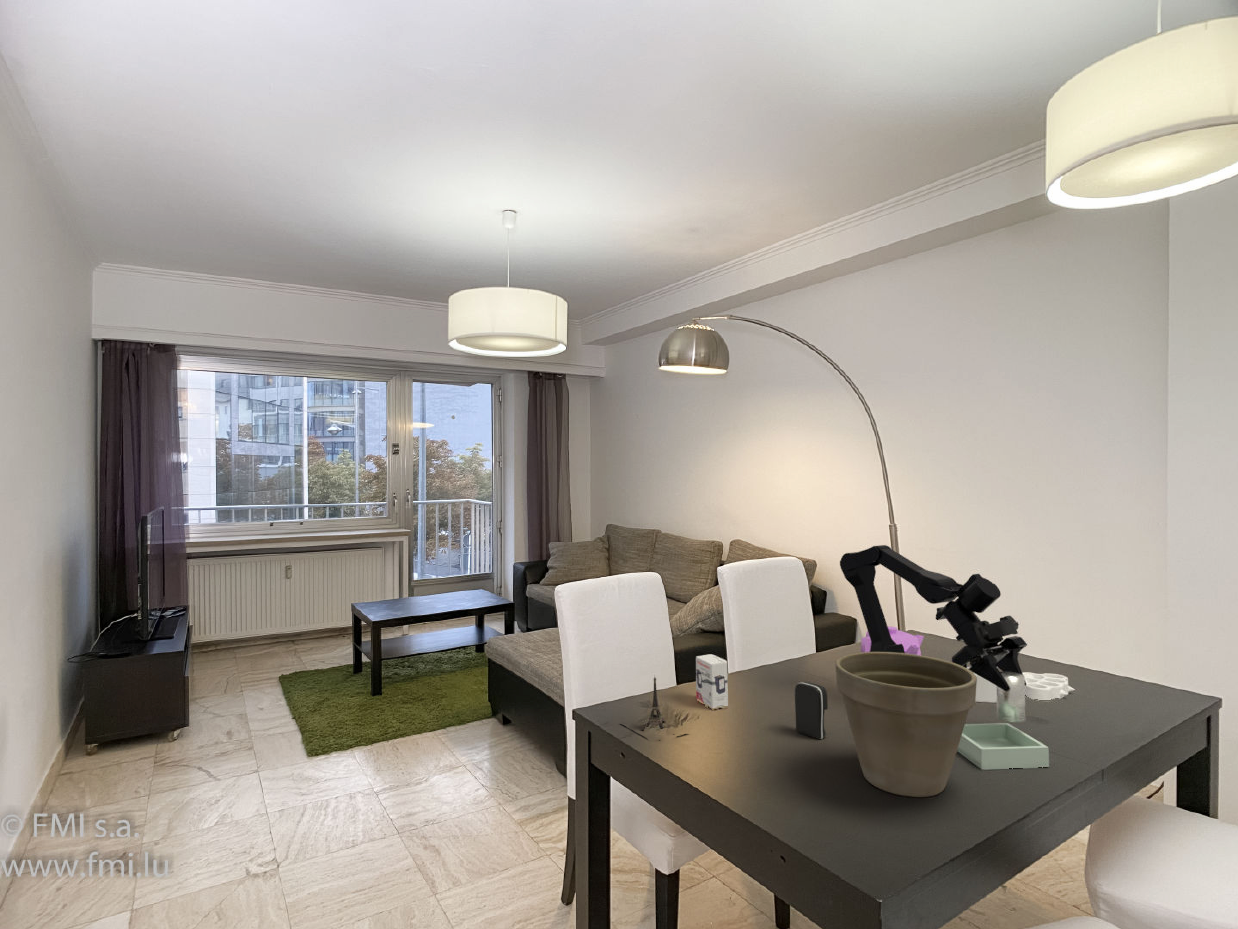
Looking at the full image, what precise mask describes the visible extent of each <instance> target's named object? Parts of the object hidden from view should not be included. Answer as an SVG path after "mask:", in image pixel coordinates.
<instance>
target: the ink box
mask: <svg viewBox="0 0 1238 929" xmlns="http://www.w3.org/2000/svg"><path fill="white" fill-rule="evenodd" d="M695 673H696V674H695V682H696V683H695V694H696V695H695V698H697V699H699V700H701V701H702V702H703V703H705V704H706V705H709V706H710V707H711V708H717V707H723V706H728V707H729V691H728V688H729V686H728V661H727V660H726V659H724V658H722V657H719V656H718V655H714V654H703V655H698V656H697V655H696V656H695Z"/></svg>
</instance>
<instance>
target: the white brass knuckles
mask: <svg viewBox="0 0 1238 929" xmlns="http://www.w3.org/2000/svg"><path fill="white" fill-rule="evenodd" d="M1022 674H1023V675H1024V677H1025V681H1026V686H1025V695H1026V696H1027V697H1026V696H1025V697H1026V698H1028V697H1029V698H1028V699H1030V698H1031V700H1034V699H1038V700H1037V701H1039V700H1051V699H1052V700H1055V698H1059V699H1063V697H1064V698H1065V696H1067V695H1069V692H1072V691H1075V690H1076V689H1075V688H1073V687H1071V686H1070V685H1069V678H1068V677H1067V676H1066V675H1065V676H1064V675H1062V674H1058V673H1046V672H1045V673H1034V672H1030V671H1027V672H1023V671H1022ZM1059 699H1058V700H1059ZM1052 700H1051V701H1052Z"/></svg>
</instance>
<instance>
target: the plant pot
mask: <svg viewBox="0 0 1238 929" xmlns="http://www.w3.org/2000/svg"><path fill="white" fill-rule="evenodd" d="M835 661H836V662H835V673H836V674H835V677H836V678H835V679H836V688H837V690H838V691H839V693H841V694H842V697H843V703H844V706H845V711H846V715H847V720H848V722H849V725H850V726H849V727H850V731H851V734H852V737H853V741H854V745H855V750H856V752H857V758H858V760H859V764H860V768H861V772H862V773H863V774H862V775H863V776H864V778H865V779H866V781H867V782H868V783H870V784H871V785H872V786H874V787H876V789H877V788H878V789H879V790H882V791H884V792H887V793H890V794H894V795H898V796H904V797H910V798H911V797H913V798H927V797H932V796H936V795H938V794H941V793H942V792H944V790H945V788H946V786H947V783H948V781H949V777H950V775H951V772H952V768H953V765H954V762H955V758H956V755H957V753H958V751H957V749H958V746H959V742H960V739H961V736H962V732H963V729H964V725H965V724H966V720H967V717H968V715H969V711H970V709H972V708H973V707H974V706H975V704H976V702H975V699H976V684H977V677H976V675H975V674H974V673H973V672H972V671H970V670H969V669H967V668H965V667H963V666H961V665H958V664H955V663H952V661H949V660H945V659H941V658H937V657H931V656H927V655H926V656H925V655H922V654H921V655H914V654H906V653H895V652H861V651H860V652H855V653H850V654H846V655H843V656H840V657H839V658H837V660H835Z"/></svg>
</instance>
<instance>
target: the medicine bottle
mask: <svg viewBox="0 0 1238 929" xmlns="http://www.w3.org/2000/svg"><path fill="white" fill-rule="evenodd" d="M997 662H998V660H997V659H996V658H995V657H994V663H995V664H996V663H997ZM970 667H971V666H967V669H969V668H970ZM996 667H997V666H996ZM997 668H998V667H997ZM998 669H999V668H998ZM974 674H975V673H974ZM975 675H976V677H977V684H976V699H975V703H989V704H997V688H996V685H994V684H993V683H991V682H989V681H988V680H986V679H984V678H982V677H980V676H979V675H977V674H975Z"/></svg>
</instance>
